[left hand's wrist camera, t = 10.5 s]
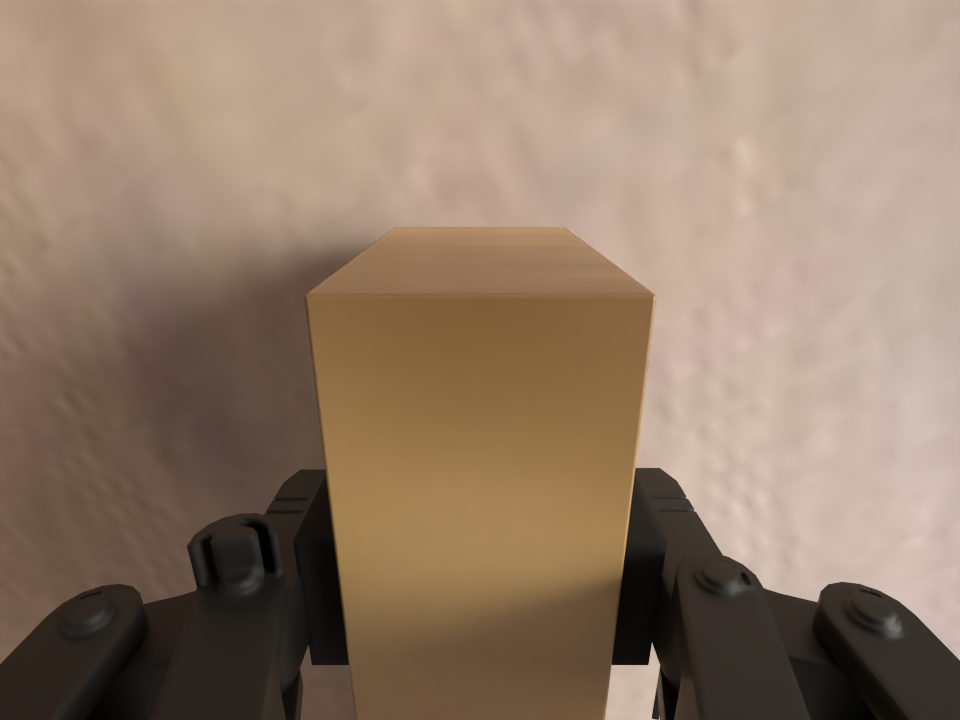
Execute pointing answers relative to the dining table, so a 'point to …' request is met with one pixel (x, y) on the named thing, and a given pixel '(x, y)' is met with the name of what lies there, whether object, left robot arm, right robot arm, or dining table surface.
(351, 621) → the post
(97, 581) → the dining table surface
